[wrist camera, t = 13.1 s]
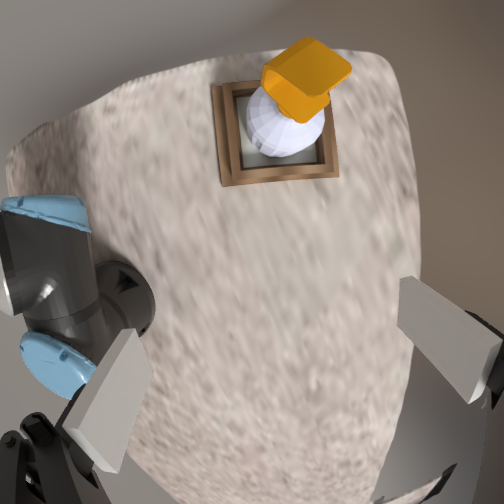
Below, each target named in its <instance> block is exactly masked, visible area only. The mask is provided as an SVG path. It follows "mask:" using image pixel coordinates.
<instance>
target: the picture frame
mask: <svg viewBox="0 0 504 504" xmlns="http://www.w3.org/2000/svg"><path fill="white" fill-rule="evenodd" d="M222 85H223V86H216V87H212V96H213V106H214V116H215V126H216V136H217V145H218V154H219V163H220V172H221V181H222V187H227V186H236V185H245V184H254V183H264V182H275V181H287V180H299V179H314V178H332V177H339V166H338V155H337V146H336V137H335V129H334V121H333V114H332V107H331V101H330V102H329V104H328V105H327V106H326V107H324V117H325V122H324V126H323V129H322V133H321V134H320V135H319V137H318V138H317V139H316V141H315V142H314V143H313V144H311V145H309V146H308V147H306V148H304V149H303V150H301V151H299V152H296V153H294V154H292V155H290V156H286V157H281V158H278V157H270V156H267V155H265V154H263V153H261V152H259V151H258V150H257V149H256V148H255V147H254V146H253V145H252V144H251V142H250V140H249V137H248V135H247V126H246V114H247V106H248V103H249V100H250V97H251V96H252V95H253V94H254V92H255V91H256V90H257V89H258V88H259V87H260V86H261V80H254V81H243V82H233V83H225V84H222ZM327 94H328V95H329V97H330V94H329V92H328V93H327Z"/></svg>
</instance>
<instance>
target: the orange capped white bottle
mask: <svg viewBox="0 0 504 504" xmlns="http://www.w3.org/2000/svg"><path fill="white" fill-rule="evenodd" d="M351 70H352V66H351V64H350V63H349V62H348V61H346V60H345V59H344V58H342V57H341V56H339V55H338V54H337V53H335V52H334V51H332V50H331V49H329V48H328V47H326V46H325V45H323V44H322V43H320V42H319V41H317V40H315V39H313V38H310V37H304V38H302V39H301V40H299V41H298V42H296V43H295V44H294V45H292V46H291V47H289V48H288V49H286V50H285V51H283V52H282V53H281V54H279V55H278V56H276V57H275V58H274V59H272V60H271V61H270V62H268V63H267V64H266V65H265V66H264V67H263V71H262V77H261V86H260V87H259V88H258V89H257V90H256V91H255V92H254V94H253V95H252V96H251V97H250V100H249V103H248V106H247V114H246V126H247V135H248V137H249V140H250V142H251V144H252V145H253V146H254V147H255V148H256V149H257V150H258V151H259V152H261V153H263V154H265V155H267V156H270V157H278V158H281V157H286V156H290V155H292V154H294V153H296V152H299V151H301V150H303V149H304V148H306V147H308V146H309V145H311V144H313V143H314V142H315V141H316V139H317V138H318V137H319V135H320V134H321V133H322V129H323V126H324V122H325V117H324V107H326V106H327V105H328V104H329V102H330V97H329V95H328V94H327V93H328V92H329V91H330V90H331V89H333V88H334V87H335V86H336V85H338V84H339V83H340V82H342V81H343V80H344V79H345V78H347V77H348V76H349V75H350V74H351Z"/></svg>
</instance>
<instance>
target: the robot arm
mask: <svg viewBox="0 0 504 504" xmlns="http://www.w3.org/2000/svg"><path fill="white" fill-rule="evenodd" d="M0 210H1V212H0V310H1V311H2V312H4V313H6V314H7V315H9V316H11V317H12V316H15V315H17V314H19V313H23V316H24V319H25V323H26V326H27V328H28V332H26V333H25V334H24V335H23V336H22V339H21V342H20V353H21V356H22V358H23V360H24V362H25V364H26V366H27V367H28V369H29V370H30V371H31V372H32V374H33V375H34V376H35V377H36V378H37V379H38V380H39V381H40V382H41V383H42V384H43V385H44V386H46V387H47V388H48V389H50V390H51V391H53V392H54V393H56V394H58V395H59V396H62V397H64V398H67V399H70V401H69V403H68V407H66V408H65V410H64V411H63V413H62V415H61V417H60V418H59V420H58V422H57V423H56V425H55V427H54V426H53V425H52V424H51V422H50V421H49V420H48V419H47V417H46V416H45V415H44V414H42V413H40V412H35V413H32V414H30V415H28V416H27V417H25V418H24V419H23V421H22V423H21V424H20V430H21V431H22V432H23V434H24V435H25V436H26V437H27V438H28V439H24V438H23V437H22V436H21V435H20V433H19V432H17V431H13V430H12V431H8V432H7V433H5V434H4V435H3V436H2V438H1V440H0V504H111V502H110V500H109V498H108V496H107V495H106V493H105V491H104V489H103V487H102V485H101V483H100V481H99V478H98V476H97V474H96V473H95V471H94V470H93V469H92V467H93V464H94V463H95V464H96V465H97V466H98V467H99V468H100V469H101V470H103V471H107V472H113V473H119V469H120V467H121V463H122V460H123V457H124V454H125V451H126V448H127V445H128V442H129V439H130V436H131V433H132V430H133V427H134V424H135V421H136V418H137V416H138V413H139V410H140V407H141V404H142V402H143V399H144V396H145V393H146V391H147V388H148V385H149V383H150V380H151V377H152V375H153V372H154V371H153V369H152V367H151V365H150V362H149V360H148V358H147V356H146V353H145V351H144V349H143V346H142V344H141V342H140V339H139V337H141V336H142V335H143V334H144V333H145V332H146V331H147V330H148V328H149V326H150V325H151V323H152V321H153V319H154V316H155V300H154V296H153V293H152V291H151V288H150V286H149V285H148V283H147V282H146V280H145V279H144V278H143V277H142V276H141V275H140V274H139V273H138V272H137V271H136V270H135V269H133V268H132V267H130V266H128V265H126V264H124V263H121V262H117V261H105V262H102V263H99V264H97V265H96V266H95V263H94V256H93V249H92V242H91V233H92V232H91V229H90V228H89V222H88V215H87V208H86V205H85V202H84V201H83V200H82V199H81V198H80V197H78V196H74V195H31V196H20V197H8V198H4V199H3V200H2V201H1V205H0ZM397 326H398V327H399V328H400V329H401V330H402V331H403V332H404V333H405V335H406V336H407V337H408V338H409V339H410V340H411V341H412V342H413V343H414V344H415V345H416V346H417V347H418V348H419V349H420V350H421V352H422V353H423V354H424V355H425V356H426V357H427V358H428V359H429V360H430V361H431V362H432V363H433V365H434V366H435V367H436V368H437V369H438V370H439V371H440V372H441V374H442V375H443V376H444V377H445V378H446V379H447V380H448V381H449V383H450V384H451V385H452V386H453V387H454V388H455V389H456V391H457V392H458V393H459V394H460V395H461V396H462V398H463V399H464V400H465V401H466V402H467V403H468V404H469V403H471V402H472V401H474V400H475V399H477V398H478V397H480V396H481V395H482V392H483V390H484V388H485V386H486V385H487V386H488V387H489V388H490V390H489V392H488V394H487V396H486V398H485V401H484V402H483V404H482V408H481V409H483V408H484V407H485V405H486V403H487V420H486V433H485V442H484V449H483V456H482V463H481V468H480V473H479V478H478V482H477V487H476V491H475V495H474V498H473V502H472V504H504V335H503V334H502V333H501V332H500V331H498V330H497V329H495V328H494V327H493V326H491V325H489V323H487V322H486V321H483V319H482V318H480V317H479V316H478V315H476V314H474V313H472V312H469V311H463V310H462V309H460V308H459V307H457V306H456V305H455V304H453V303H452V302H450V301H449V300H447V299H446V298H445V297H443V296H442V295H440V294H439V293H437V292H436V291H434V290H432V289H431V288H430V287H428V286H427V285H425V284H424V283H422V282H421V281H419V280H418V279H416V278H415V277H413V276H409V277H405V278H402V279H400V290H399V308H398V321H397ZM26 475H27V476H28V477H29V478H31V483H28V482H27V481H26Z"/></svg>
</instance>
